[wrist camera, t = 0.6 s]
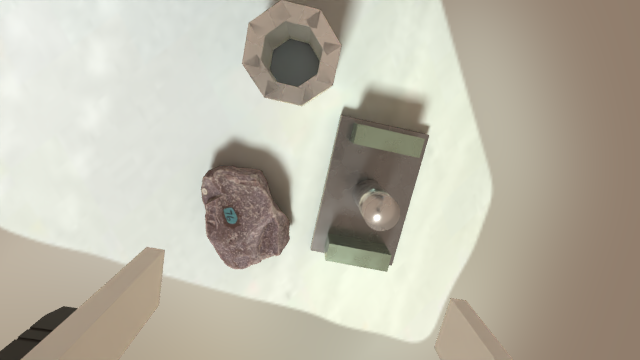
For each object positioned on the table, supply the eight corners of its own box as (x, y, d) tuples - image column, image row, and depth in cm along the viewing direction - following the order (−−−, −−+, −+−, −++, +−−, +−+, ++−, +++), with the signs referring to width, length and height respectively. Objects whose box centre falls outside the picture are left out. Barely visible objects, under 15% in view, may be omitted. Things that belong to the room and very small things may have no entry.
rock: (259, 148, 36) (252, 154, 32) (298, 235, 39) (297, 252, 34) (194, 175, 37) (178, 184, 32) (237, 260, 39) (227, 279, 35)
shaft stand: (340, 114, 36) (350, 116, 28) (426, 134, 36) (458, 141, 29) (310, 246, 39) (311, 281, 31) (389, 261, 40) (410, 298, 32)
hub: (264, 16, 33) (253, -8, 26) (339, 35, 34) (347, 16, 27) (251, 94, 35) (237, 91, 28) (323, 111, 35) (327, 111, 29)
